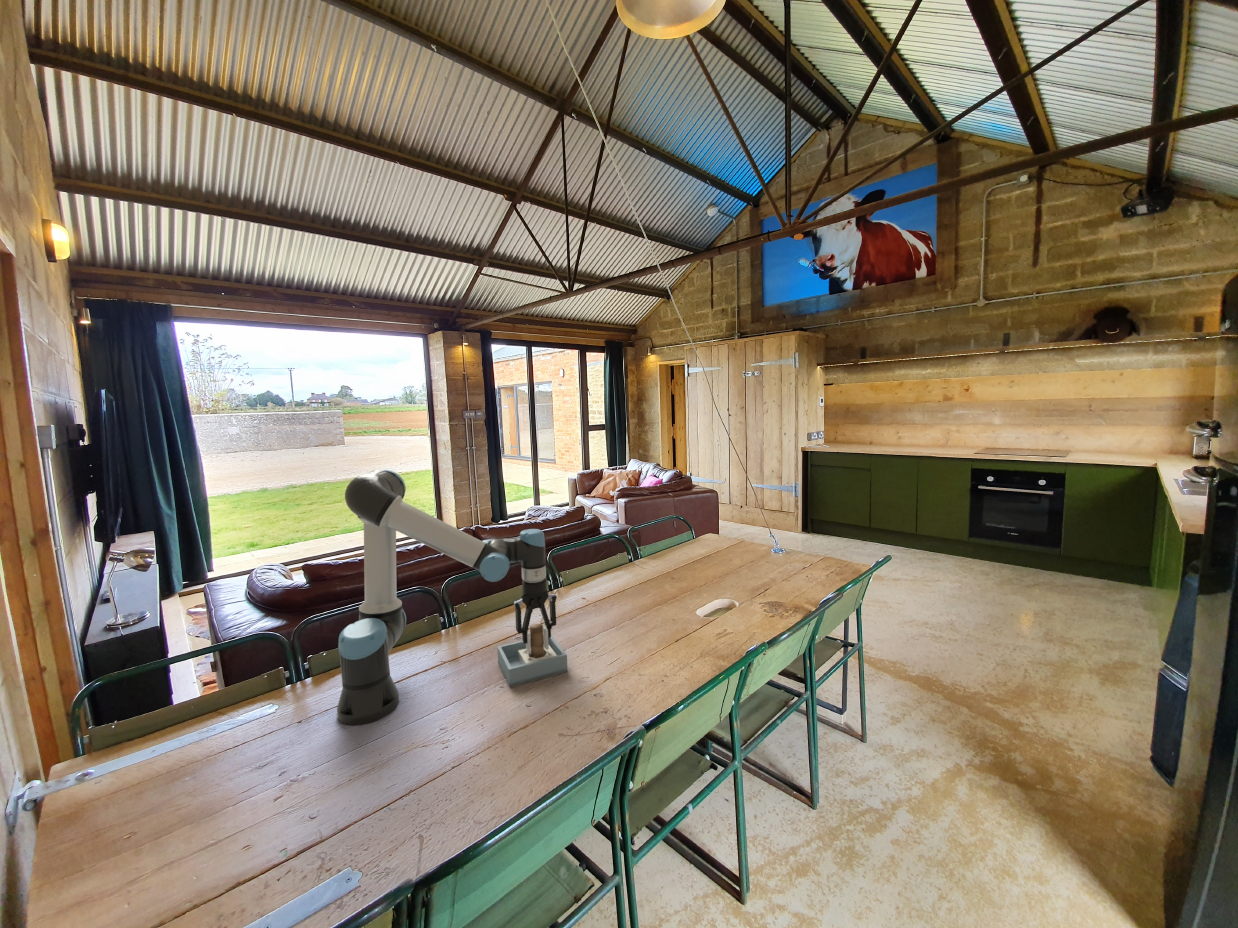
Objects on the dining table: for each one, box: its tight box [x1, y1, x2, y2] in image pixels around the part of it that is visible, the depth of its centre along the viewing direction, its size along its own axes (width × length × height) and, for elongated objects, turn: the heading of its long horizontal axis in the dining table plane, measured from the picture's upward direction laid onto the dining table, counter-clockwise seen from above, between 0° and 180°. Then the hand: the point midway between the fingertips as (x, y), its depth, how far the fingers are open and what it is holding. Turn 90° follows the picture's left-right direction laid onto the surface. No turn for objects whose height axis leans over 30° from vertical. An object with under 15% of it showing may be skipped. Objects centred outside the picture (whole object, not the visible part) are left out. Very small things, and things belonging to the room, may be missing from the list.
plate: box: [518, 645, 557, 664], centre depth 153 cm, size 10×10×3 cm
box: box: [496, 634, 568, 688], centre depth 152 cm, size 18×16×6 cm
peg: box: [529, 623, 544, 658], centre depth 152 cm, size 4×4×12 cm
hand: (537, 649), depth 153 cm, fingers open, 5 cm apart
